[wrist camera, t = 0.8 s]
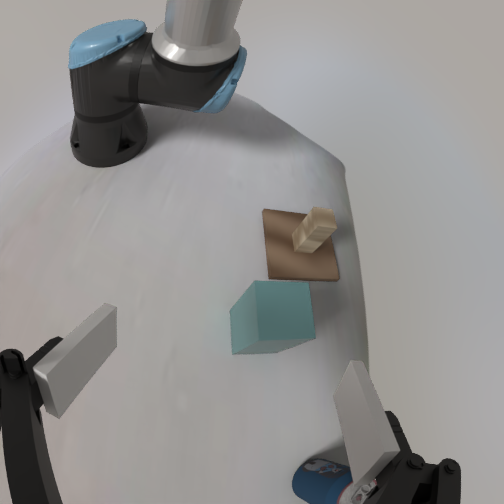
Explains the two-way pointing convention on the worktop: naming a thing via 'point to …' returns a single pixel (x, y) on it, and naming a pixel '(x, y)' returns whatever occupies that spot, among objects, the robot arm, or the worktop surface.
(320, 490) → the soda can
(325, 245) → the brown square base plate
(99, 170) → the worktop surface
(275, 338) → the tall teal pillar
